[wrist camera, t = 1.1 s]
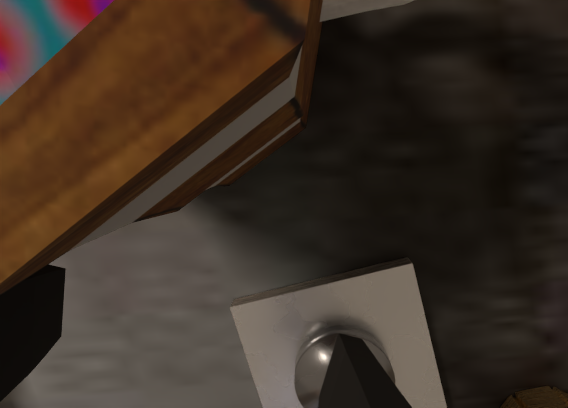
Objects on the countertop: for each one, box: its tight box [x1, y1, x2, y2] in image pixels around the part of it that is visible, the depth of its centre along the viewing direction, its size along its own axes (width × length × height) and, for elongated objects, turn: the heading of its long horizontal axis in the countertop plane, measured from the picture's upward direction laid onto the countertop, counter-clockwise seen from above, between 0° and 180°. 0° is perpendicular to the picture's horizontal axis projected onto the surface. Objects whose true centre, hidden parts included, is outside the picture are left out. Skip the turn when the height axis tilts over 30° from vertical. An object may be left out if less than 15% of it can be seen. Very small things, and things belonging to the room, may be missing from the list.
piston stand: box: [230, 257, 447, 408], centre depth 17 cm, size 10×10×6 cm
